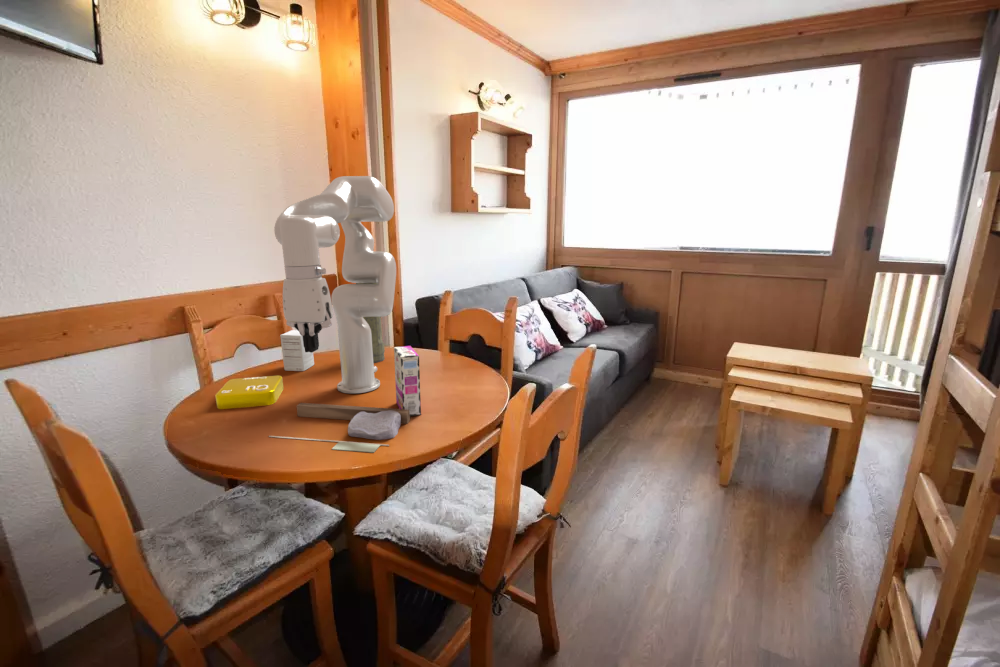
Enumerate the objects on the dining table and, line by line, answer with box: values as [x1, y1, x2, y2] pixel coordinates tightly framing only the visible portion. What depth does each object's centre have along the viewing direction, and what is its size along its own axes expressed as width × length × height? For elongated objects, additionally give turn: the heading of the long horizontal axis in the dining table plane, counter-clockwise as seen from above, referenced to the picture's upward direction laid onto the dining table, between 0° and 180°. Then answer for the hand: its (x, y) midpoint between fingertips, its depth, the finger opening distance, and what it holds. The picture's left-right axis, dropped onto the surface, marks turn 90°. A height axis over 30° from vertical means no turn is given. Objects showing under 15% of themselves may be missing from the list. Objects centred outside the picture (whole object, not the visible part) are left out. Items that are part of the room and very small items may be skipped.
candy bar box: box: [393, 345, 422, 417], centre depth 128 cm, size 11×5×16 cm, turn 22°
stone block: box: [347, 410, 402, 441], centre depth 116 cm, size 12×5×10 cm
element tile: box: [214, 375, 284, 410], centre depth 138 cm, size 15×15×5 cm
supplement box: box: [279, 329, 315, 372], centre depth 164 cm, size 7×7×13 cm
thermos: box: [355, 283, 386, 364], centre depth 170 cm, size 9×12×35 cm
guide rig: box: [268, 402, 411, 454], centre depth 116 cm, size 18×30×3 cm, turn 81°
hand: (311, 350), depth 112 cm, fingers closed
